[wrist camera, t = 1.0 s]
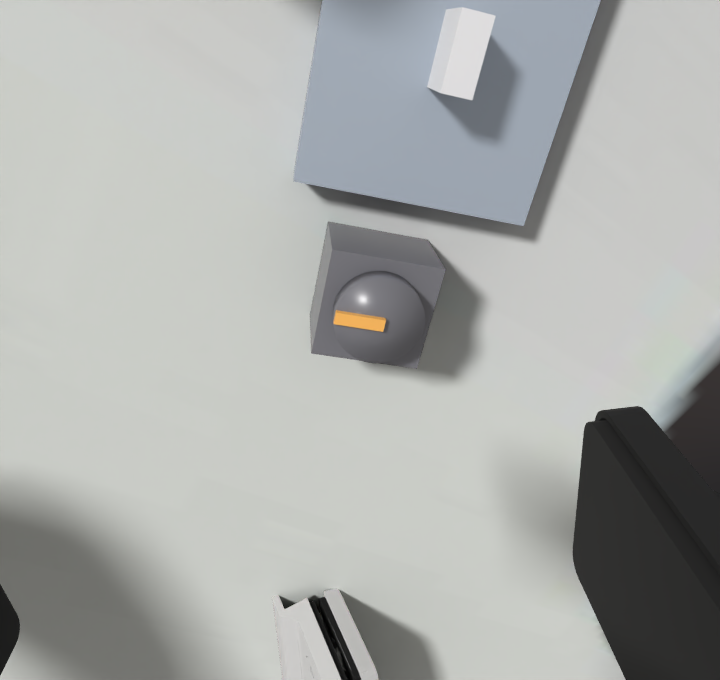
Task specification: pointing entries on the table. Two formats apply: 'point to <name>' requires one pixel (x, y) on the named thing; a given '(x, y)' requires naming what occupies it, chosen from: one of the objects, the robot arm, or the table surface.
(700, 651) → the robot arm
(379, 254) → the knob
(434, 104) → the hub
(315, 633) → the napkin holder
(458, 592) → the table surface
